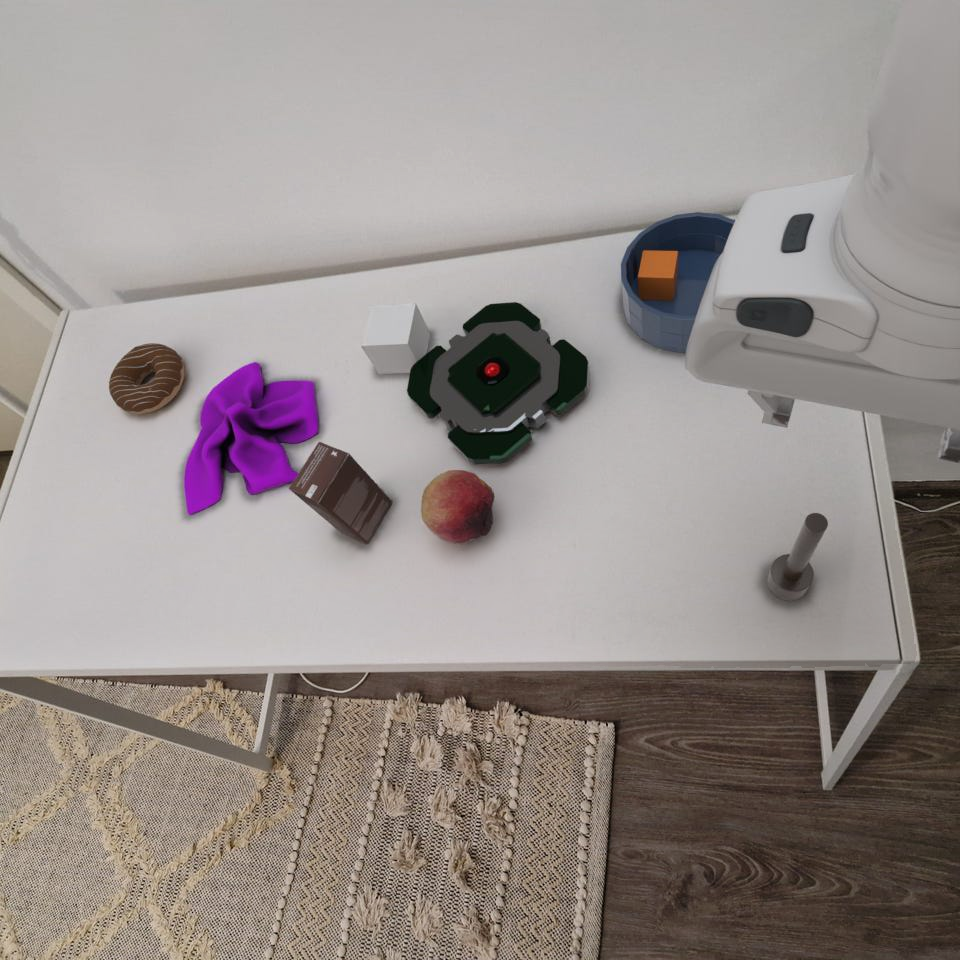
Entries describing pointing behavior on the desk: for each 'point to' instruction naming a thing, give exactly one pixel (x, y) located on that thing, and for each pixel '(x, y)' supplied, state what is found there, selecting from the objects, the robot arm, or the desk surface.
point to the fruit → (458, 506)
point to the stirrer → (797, 561)
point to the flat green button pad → (498, 382)
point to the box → (341, 492)
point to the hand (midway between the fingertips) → (861, 432)
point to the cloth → (248, 434)
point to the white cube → (395, 337)
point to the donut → (136, 368)
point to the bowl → (697, 255)
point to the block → (658, 275)
